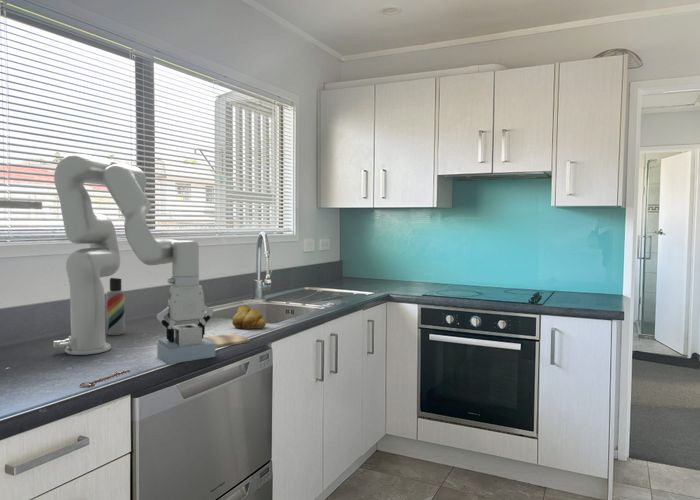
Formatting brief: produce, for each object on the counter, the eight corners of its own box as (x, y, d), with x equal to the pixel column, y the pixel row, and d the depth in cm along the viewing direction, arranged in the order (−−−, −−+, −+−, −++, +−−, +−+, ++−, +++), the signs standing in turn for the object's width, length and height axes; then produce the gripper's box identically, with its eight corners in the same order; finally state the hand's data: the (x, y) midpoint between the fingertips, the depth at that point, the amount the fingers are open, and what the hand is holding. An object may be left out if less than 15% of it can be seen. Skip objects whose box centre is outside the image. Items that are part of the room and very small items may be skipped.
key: (118, 372, 144) (70, 387, 130) (118, 368, 144) (70, 383, 130) (134, 373, 142) (87, 389, 128) (134, 369, 142) (87, 385, 128)
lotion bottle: (104, 333, 188) (103, 277, 187) (120, 331, 192) (120, 276, 191) (111, 336, 184) (110, 278, 183) (127, 333, 188) (127, 277, 187)
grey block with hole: (178, 347, 153) (178, 330, 153) (170, 342, 159) (170, 326, 159) (202, 344, 158) (202, 327, 157) (193, 339, 163) (193, 323, 163)
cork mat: (216, 347, 171) (216, 344, 171) (201, 340, 180) (201, 337, 180) (249, 342, 178) (249, 339, 178) (234, 335, 187) (234, 333, 187)
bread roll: (270, 327, 204) (270, 306, 203) (256, 332, 195) (256, 310, 194) (242, 324, 209) (242, 303, 208) (227, 328, 200) (227, 307, 199)
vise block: (168, 363, 150) (168, 334, 150) (157, 356, 158) (157, 328, 158) (215, 356, 159) (215, 328, 158) (202, 349, 167) (202, 323, 166)
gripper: (160, 285, 149) (160, 346, 150) (218, 281, 159) (218, 338, 160) (151, 282, 155) (152, 341, 156) (208, 278, 165) (208, 333, 166)
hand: (185, 339), depth 158 cm, fingers open, 8 cm apart
